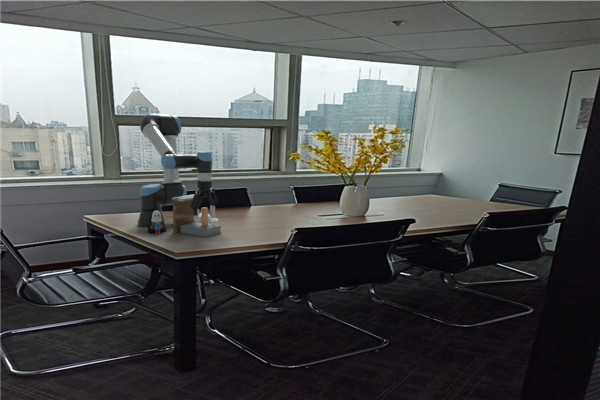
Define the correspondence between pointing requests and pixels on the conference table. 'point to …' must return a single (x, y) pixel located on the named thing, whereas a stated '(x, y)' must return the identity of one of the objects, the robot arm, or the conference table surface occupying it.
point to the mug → (210, 220)
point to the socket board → (199, 229)
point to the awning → (182, 211)
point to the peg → (204, 216)
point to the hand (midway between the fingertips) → (204, 219)
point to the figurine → (156, 224)
